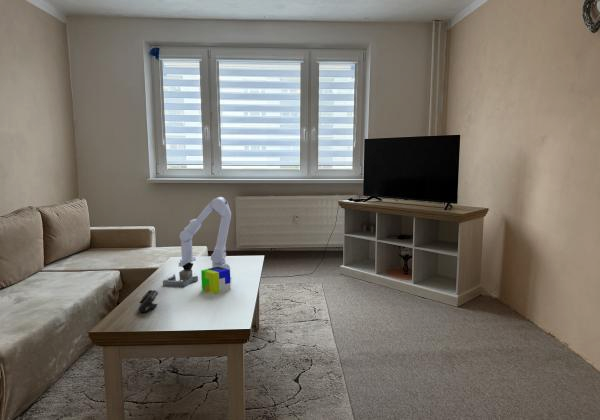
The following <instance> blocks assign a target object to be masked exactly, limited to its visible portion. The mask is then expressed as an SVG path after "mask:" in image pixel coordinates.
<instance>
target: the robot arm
mask: <svg viewBox="0 0 600 420" xmlns="http://www.w3.org/2000/svg"><path fill="white" fill-rule="evenodd" d="M229 205H230V204H229V202H228V200H227V199H226V198H225V197H223V196H218V197H216V198H213V199H212V200H211V201H210V202H209V203H207V204H206V206H205V208H204V209H203V210H202V211H201V212H200V213H199V215H198V216H197V218H193V219H190V220H189V223H188V225H187V226H185V227H183V230H182V231H180V234H179V236H178V237H179V240H180V243H181V245H180V246H181V248H180V249H181V259H179V262H178V267H179V268H180V267H181V268H183V270H193V269H192V268H193V265H194V263H193V262H195V261H196V259H197V258H196V256H193V254H194V253H193V238H194V235H195V234H196V233H197V232H198V231H199V229H200V228H201V227H202V222H203V221H204V220H206V218H207V217H208V216H209V215H210V213H212V212H214V211H216V212H217V213H218V214H219V215H220V216H221V217H220V224H219V229H218V233H217V239H216V244H215V247H214V249H213V253H212V254H211V255H210V260H211V262H212V263H211V264H212V266H211V268H214V267H222V268H226V269H229V270H230V271H231V267H230V265H229V263H227V261H226V259H225V258H226V257H227V252H226V249H227V246H226V243H227V240H228V239H227V238H228V235H229V228H230V224H231V219H232V211H231V207H230V206H229ZM231 279H232V277H231V276H230V280H231Z"/></svg>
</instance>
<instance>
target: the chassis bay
mask: <svg viewBox="0 0 600 420" xmlns="http://www.w3.org/2000/svg"><path fill="white" fill-rule="evenodd" d="M192 276H193V275H192ZM198 281H199V276H198V275H194V276H193V277H190V278H188V279H186V280H184V281H183V280H181V281H180V280H176V274H172V276H170V277H167V278H165V279H163V280H162V286H164V287H175V288H176V287H177V288H185V287H187V286H188V285H191V284H192V283H194V282H198Z"/></svg>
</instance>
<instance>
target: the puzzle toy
mask: <svg viewBox="0 0 600 420" xmlns="http://www.w3.org/2000/svg"><path fill="white" fill-rule="evenodd" d="M200 272H201V273H200V275H201V290H202V291H204V292H207V293H210V294H213V295H215V294H220V293H222V292H226V291H229V290H230V291H231V285H232V284H231V279H230V277H231V269H230V270H229V269H226V268H222V267H214V268H212V267H211V268H205V269H202V270H201V271H200Z"/></svg>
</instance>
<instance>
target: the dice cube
mask: <svg viewBox="0 0 600 420" xmlns="http://www.w3.org/2000/svg"><path fill="white" fill-rule="evenodd" d="M178 275H179V281H181V280H183V281H184V280H186V279H188V278H190V277H193V269H191V270H184V269H182V270H180V271H179V273H178Z"/></svg>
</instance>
